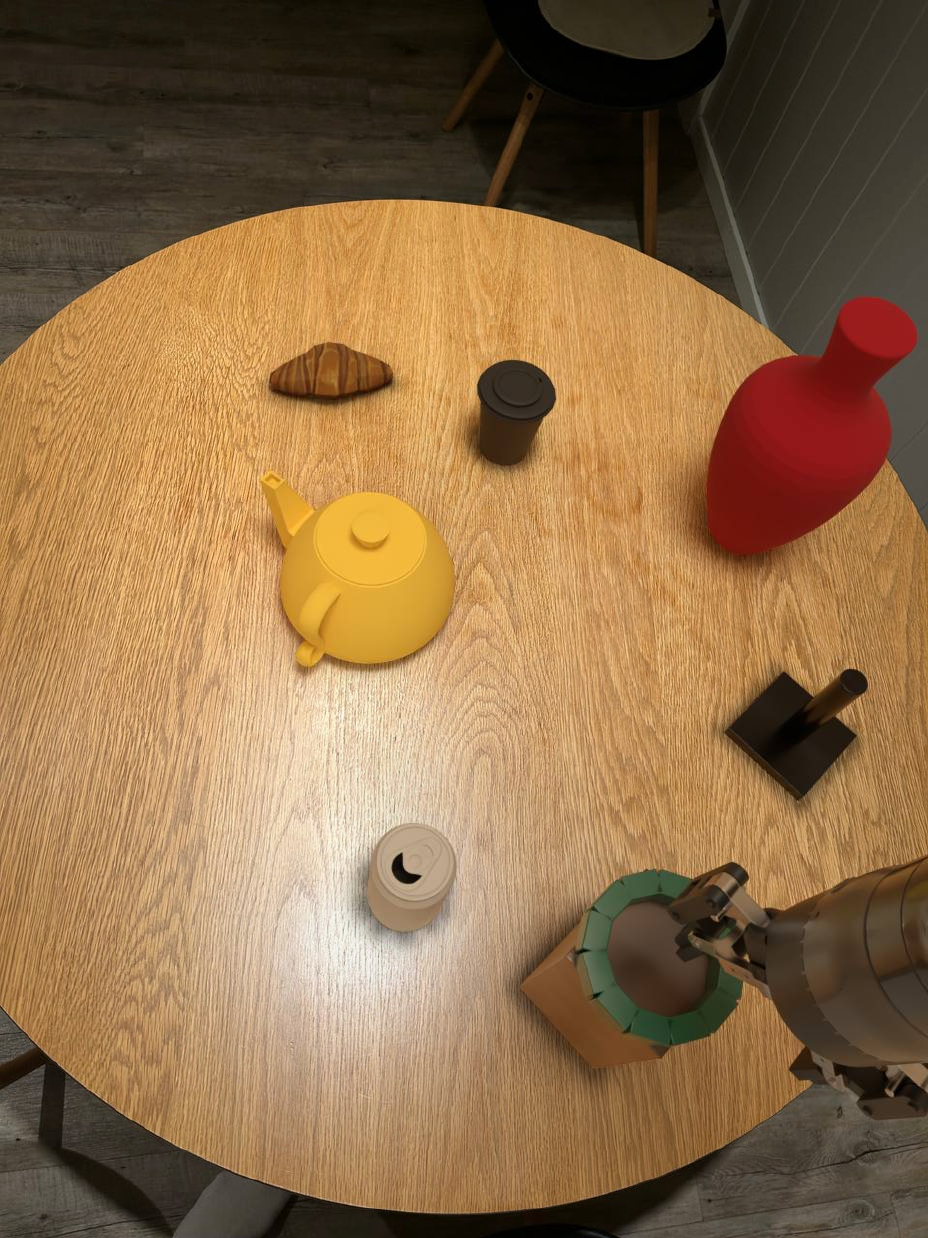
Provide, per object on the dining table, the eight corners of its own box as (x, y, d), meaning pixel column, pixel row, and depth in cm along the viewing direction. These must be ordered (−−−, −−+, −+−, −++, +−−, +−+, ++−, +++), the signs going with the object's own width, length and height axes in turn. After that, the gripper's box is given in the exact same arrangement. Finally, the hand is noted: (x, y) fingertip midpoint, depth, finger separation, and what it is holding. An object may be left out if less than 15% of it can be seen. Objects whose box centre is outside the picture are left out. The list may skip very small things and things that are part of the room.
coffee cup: (555, 448, 103) (575, 386, 94) (505, 489, 99) (521, 429, 91) (501, 404, 105) (515, 340, 96) (450, 443, 101) (461, 380, 93)
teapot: (483, 581, 94) (502, 509, 83) (372, 724, 86) (377, 667, 74) (322, 480, 97) (319, 398, 86) (201, 608, 89) (180, 537, 78)
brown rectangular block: (659, 991, 78) (741, 962, 62) (592, 1069, 74) (661, 1059, 59) (586, 915, 80) (647, 867, 64) (518, 987, 77) (564, 956, 61)
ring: (761, 963, 62) (776, 958, 60) (662, 1084, 58) (674, 1083, 56) (646, 846, 65) (656, 838, 63) (543, 954, 61) (550, 949, 59)
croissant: (387, 357, 106) (389, 324, 102) (397, 404, 103) (399, 373, 99) (266, 365, 103) (263, 332, 99) (272, 413, 100) (269, 381, 96)
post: (851, 740, 91) (926, 686, 79) (797, 800, 87) (868, 753, 75) (778, 675, 93) (841, 614, 81) (724, 732, 89) (781, 676, 78)
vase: (773, 465, 105) (918, 250, 79) (826, 577, 99) (1003, 385, 72) (652, 482, 102) (761, 265, 76) (699, 600, 96) (835, 408, 69)
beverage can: (351, 889, 79) (353, 855, 68) (409, 840, 81) (420, 800, 71) (400, 950, 77) (409, 925, 66) (458, 898, 79) (476, 866, 69)
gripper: (710, 901, 40) (612, 954, 55) (986, 1177, 37) (804, 1156, 51) (809, 788, 43) (692, 866, 58) (1074, 1032, 40) (878, 1051, 54)
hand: (745, 1002), depth 54 cm, fingers open, 8 cm apart
